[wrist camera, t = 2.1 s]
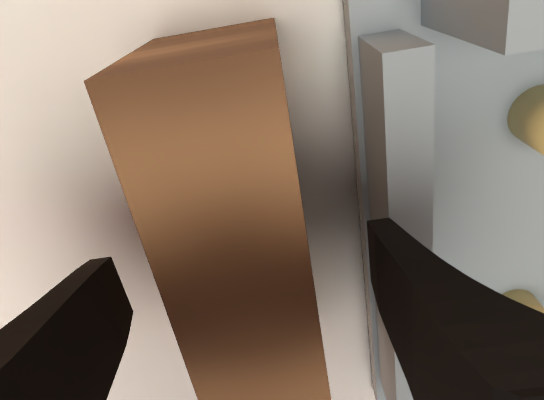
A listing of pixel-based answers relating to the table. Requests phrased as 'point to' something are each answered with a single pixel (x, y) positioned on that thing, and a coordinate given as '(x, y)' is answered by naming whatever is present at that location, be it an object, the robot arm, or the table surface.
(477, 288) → the robot arm
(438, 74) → the peg stand
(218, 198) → the board
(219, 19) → the table surface
